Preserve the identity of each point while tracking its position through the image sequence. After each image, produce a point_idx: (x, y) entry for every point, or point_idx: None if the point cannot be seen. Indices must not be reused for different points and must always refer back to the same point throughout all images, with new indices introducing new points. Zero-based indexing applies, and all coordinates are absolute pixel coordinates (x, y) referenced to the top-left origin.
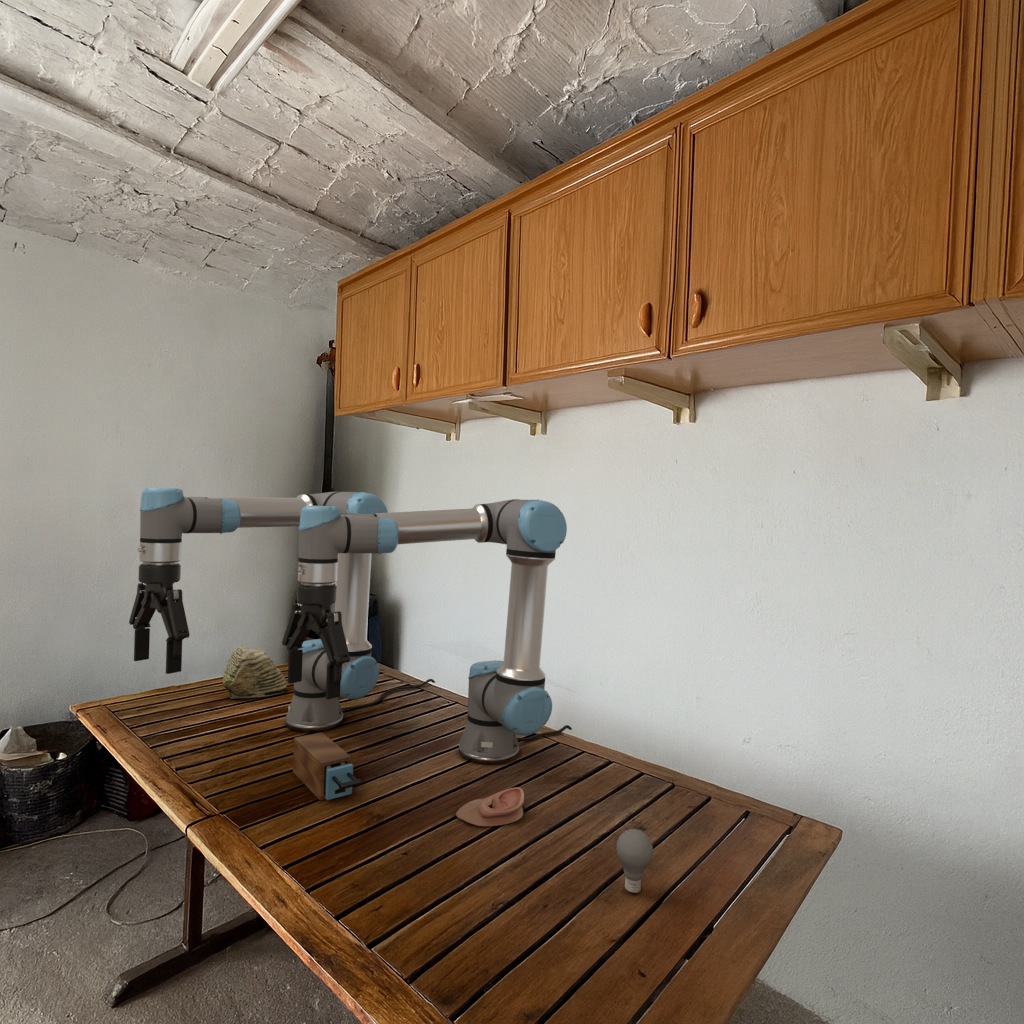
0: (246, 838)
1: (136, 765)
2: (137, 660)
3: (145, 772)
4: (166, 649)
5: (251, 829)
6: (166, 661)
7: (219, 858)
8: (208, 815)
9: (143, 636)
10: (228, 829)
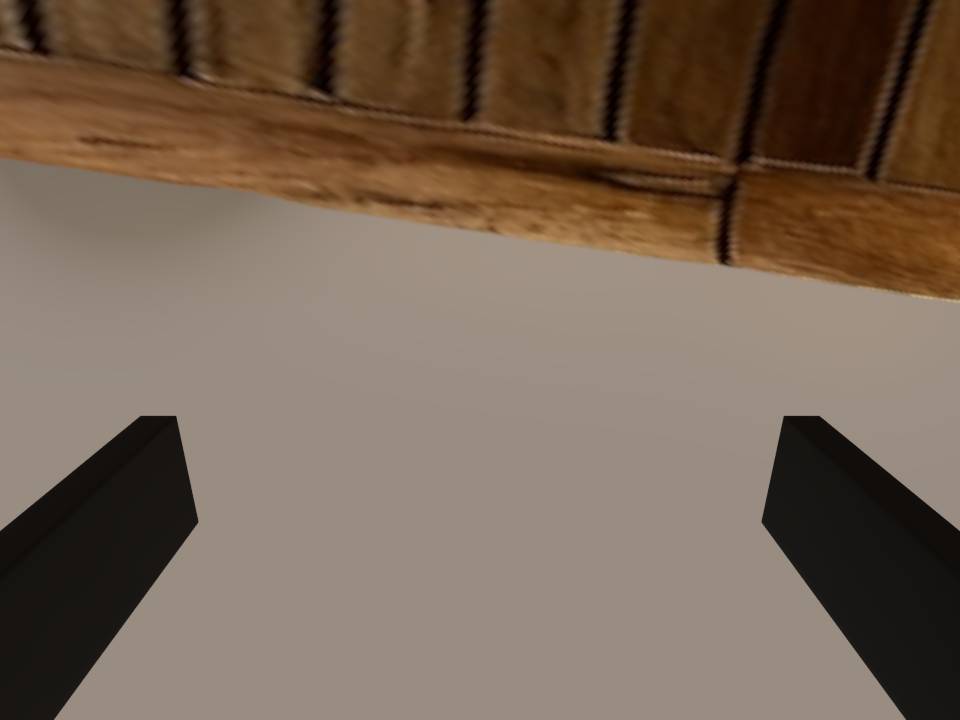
0: (925, 195)
1: (193, 173)
2: (194, 511)
3: (275, 179)
4: (905, 716)
5: (901, 156)
6: (825, 599)
7: (933, 294)
8: (720, 195)
9: (12, 659)
10: (839, 201)
